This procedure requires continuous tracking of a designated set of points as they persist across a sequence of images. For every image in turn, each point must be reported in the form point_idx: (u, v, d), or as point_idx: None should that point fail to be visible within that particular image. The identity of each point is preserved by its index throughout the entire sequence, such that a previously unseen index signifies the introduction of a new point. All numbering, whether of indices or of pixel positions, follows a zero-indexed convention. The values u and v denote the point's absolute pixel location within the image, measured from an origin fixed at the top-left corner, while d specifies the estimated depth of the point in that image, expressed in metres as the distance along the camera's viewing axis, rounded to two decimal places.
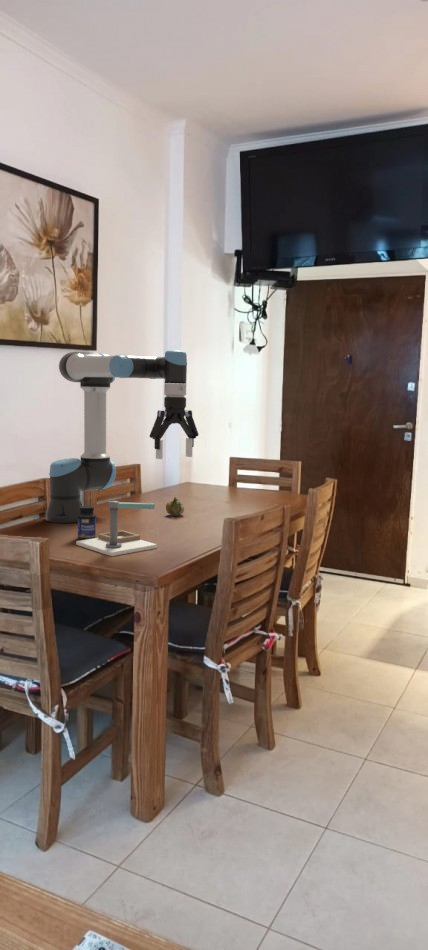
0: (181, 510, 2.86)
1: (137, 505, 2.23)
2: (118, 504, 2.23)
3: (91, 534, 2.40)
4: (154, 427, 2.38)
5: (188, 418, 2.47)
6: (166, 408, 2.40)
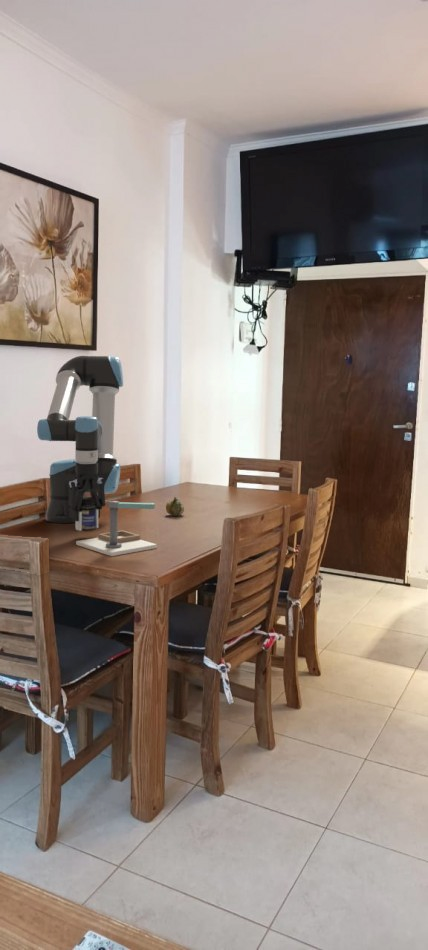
0: (181, 510, 2.86)
1: (137, 505, 2.23)
2: (118, 504, 2.23)
3: (91, 525, 2.41)
4: (70, 499, 2.37)
5: (99, 485, 2.44)
6: (77, 475, 2.38)
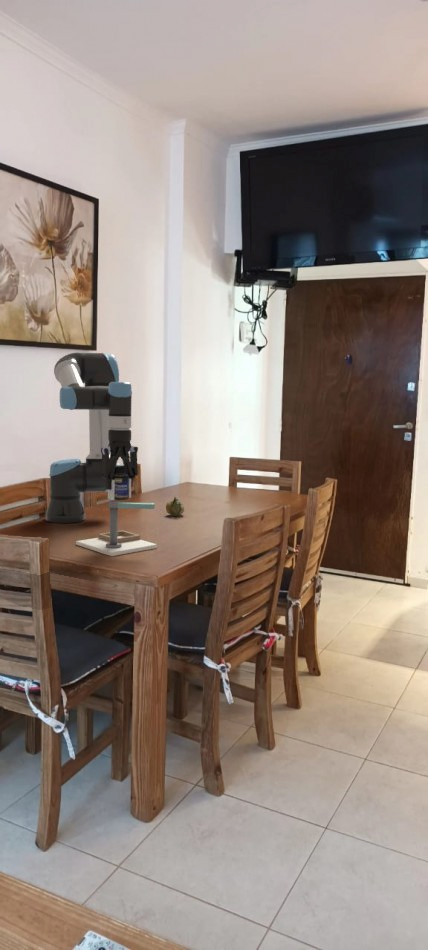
0: (181, 510, 2.86)
1: (137, 505, 2.23)
2: (118, 504, 2.23)
3: (124, 494, 2.33)
4: (102, 467, 2.30)
5: (132, 454, 2.37)
6: (110, 441, 2.31)
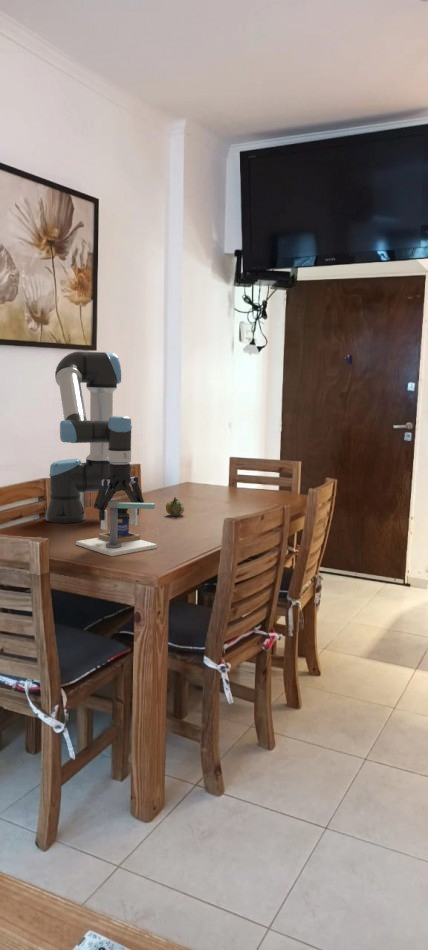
0: (181, 510, 2.86)
1: (137, 505, 2.23)
2: (118, 504, 2.23)
3: (124, 534, 2.35)
4: (98, 497, 2.30)
5: (134, 485, 2.39)
6: (110, 476, 2.32)
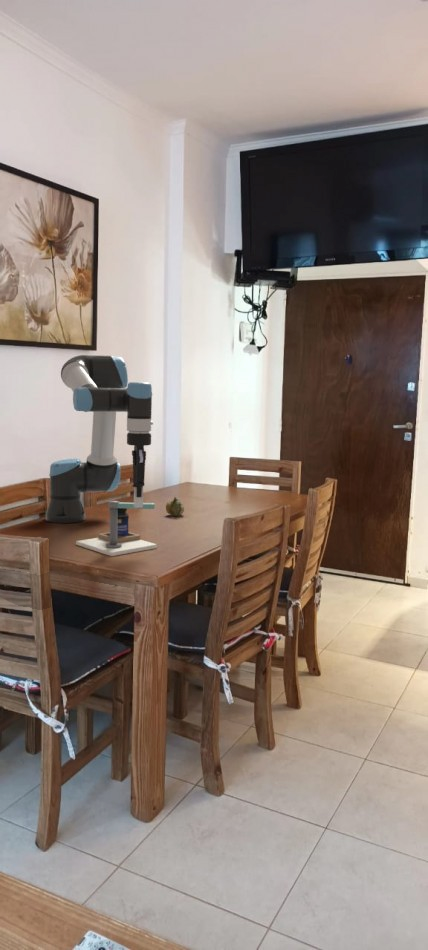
0: (181, 510, 2.86)
1: None
2: (118, 504, 2.23)
3: (124, 534, 2.35)
4: (139, 475, 2.17)
5: None
6: (140, 446, 2.16)
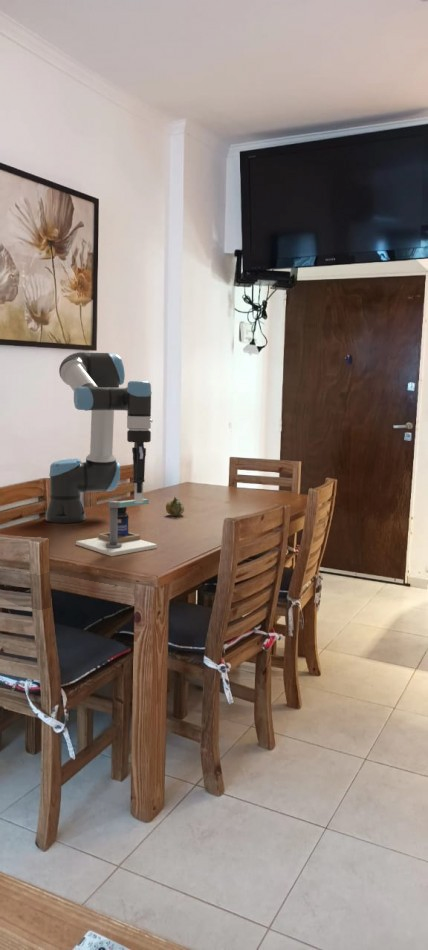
0: (181, 510, 2.86)
1: None
2: (120, 503, 2.25)
3: (123, 534, 2.35)
4: (139, 471, 2.23)
5: None
6: (140, 443, 2.23)
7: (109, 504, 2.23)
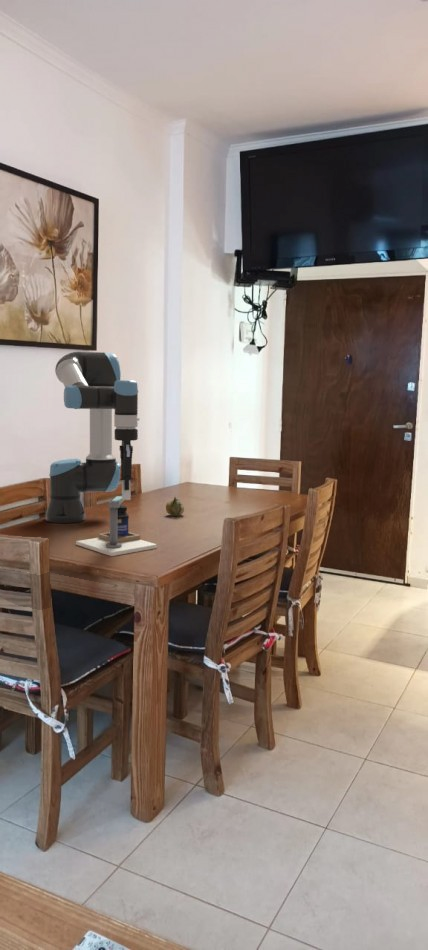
0: (181, 510, 2.86)
1: (121, 500, 2.32)
2: None
3: (124, 534, 2.35)
4: (126, 469, 2.27)
5: None
6: (127, 441, 2.27)
7: (113, 504, 2.23)
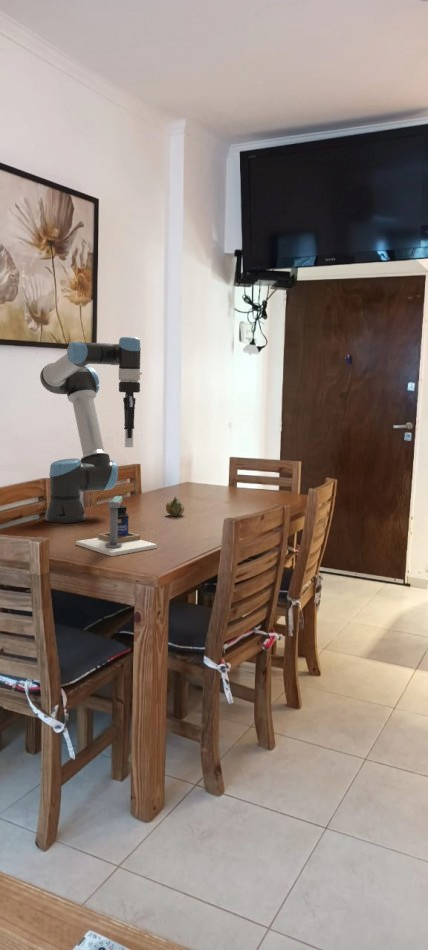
0: (181, 510, 2.86)
1: (120, 500, 2.32)
2: None
3: (123, 534, 2.35)
4: (129, 418, 2.49)
5: None
6: (130, 393, 2.49)
7: (113, 504, 2.23)
